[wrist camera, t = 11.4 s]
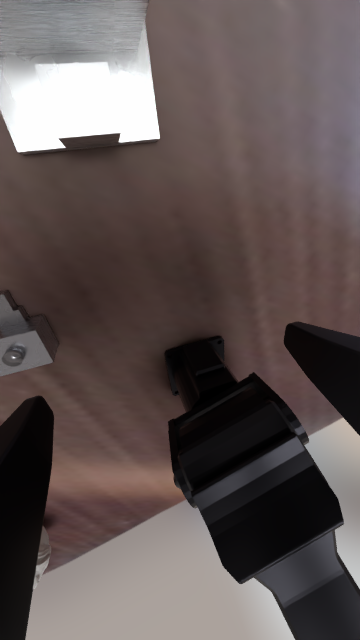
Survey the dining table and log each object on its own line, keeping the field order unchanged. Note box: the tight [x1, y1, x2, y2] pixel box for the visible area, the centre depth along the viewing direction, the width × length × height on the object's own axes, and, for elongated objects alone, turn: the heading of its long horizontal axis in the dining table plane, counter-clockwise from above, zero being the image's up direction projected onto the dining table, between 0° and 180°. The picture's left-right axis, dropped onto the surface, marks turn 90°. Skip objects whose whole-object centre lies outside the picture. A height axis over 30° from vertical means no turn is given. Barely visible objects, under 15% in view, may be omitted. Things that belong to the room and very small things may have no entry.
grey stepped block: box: [0, 290, 59, 376], centre depth 16 cm, size 6×4×3 cm
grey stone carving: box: [33, 526, 51, 589], centre depth 28 cm, size 6×7×7 cm
